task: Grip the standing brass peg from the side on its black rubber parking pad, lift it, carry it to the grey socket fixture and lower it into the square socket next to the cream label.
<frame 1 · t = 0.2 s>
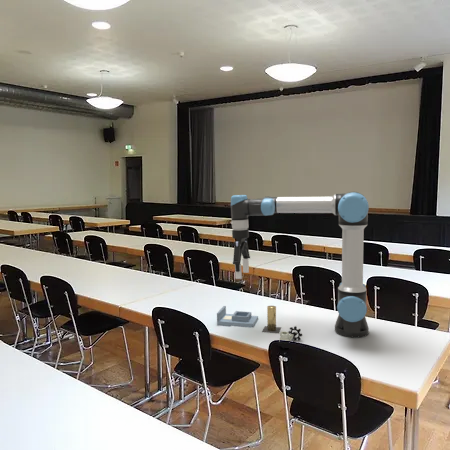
hand: (242, 275, 198), 27 cm above the table, tool pointing down, fingers open, 13 cm apart
parking pad: (271, 330, 203), on the table
brass peg: (271, 329, 203), resting on parking pad
valve: (289, 345, 186), on the table
grey socket fixture: (237, 322, 215), on the table
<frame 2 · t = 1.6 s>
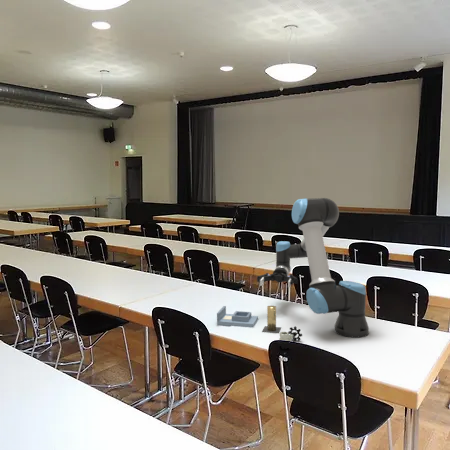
hand: (274, 283, 210), 20 cm above the table, tool horizontal, fingers open, 13 cm apart
nothing on the table moved.
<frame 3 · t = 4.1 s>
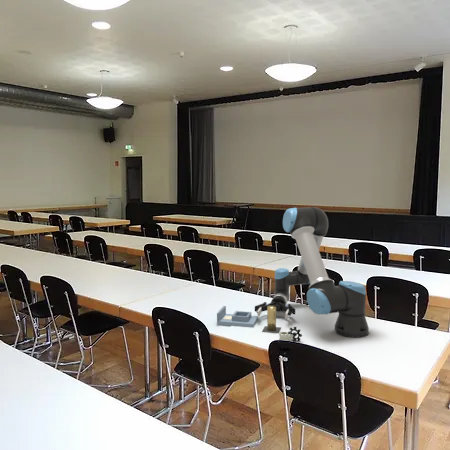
hand: (272, 315, 207), 6 cm above the table, tool horizontal, fingers open, 13 cm apart
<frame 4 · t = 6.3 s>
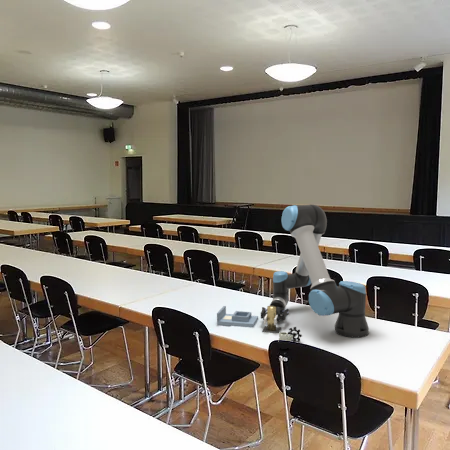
hand: (269, 321, 197), 6 cm above the table, tool horizontal, fingers closed on brass peg, 4 cm apart
brass peg: (271, 329, 203), resting on parking pad, touching gripper
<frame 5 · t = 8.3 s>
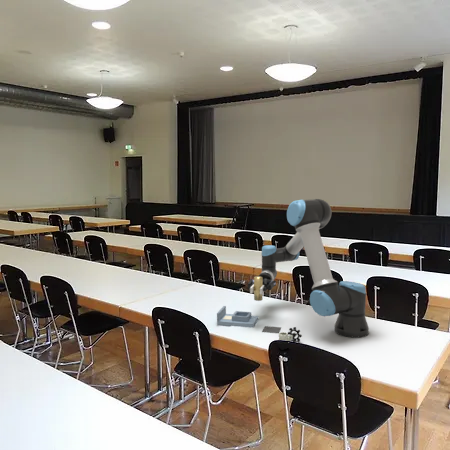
hand: (255, 291, 202), 19 cm above the table, tool horizontal, fingers closed on brass peg, 4 cm apart
brass peg: (258, 299, 208), point 13 cm above the table, touching gripper
when the fingers open (10 cm above the table, at t = 10.6 s): brass peg drops 2 cm, resting on grey socket fixture.
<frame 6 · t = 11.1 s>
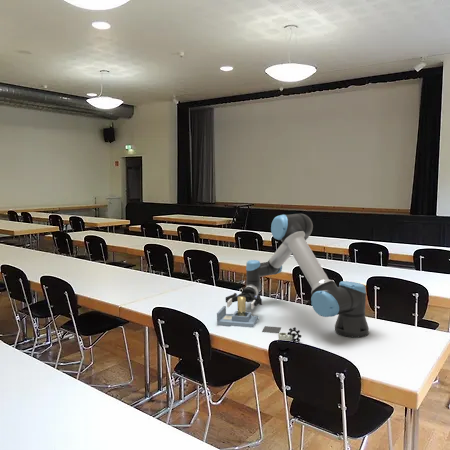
hand: (239, 305, 209), 10 cm above the table, tool horizontal, fingers open, 11 cm apart
brass peg: (241, 318, 214), point 2 cm above the table, touching grey socket fixture
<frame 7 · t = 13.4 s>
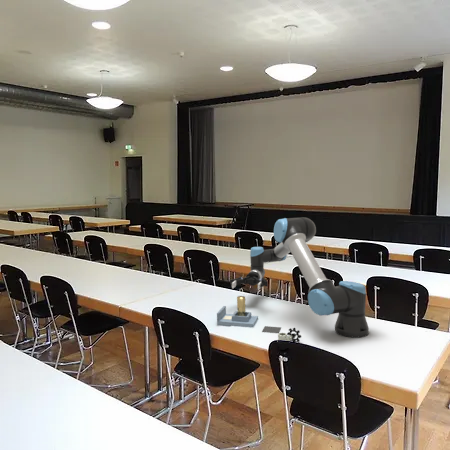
hand: (245, 286, 222), 16 cm above the table, tool horizontal, fingers open, 13 cm apart
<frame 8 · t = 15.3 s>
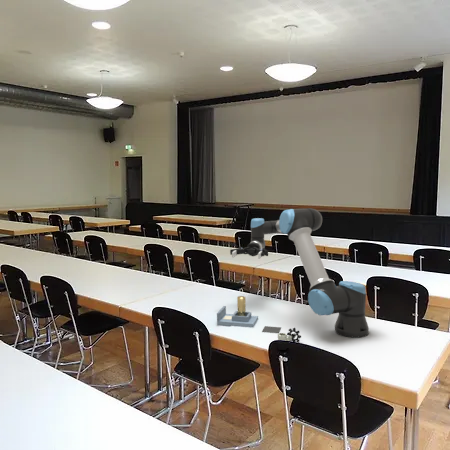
hand: (245, 255, 220), 32 cm above the table, tool horizontal, fingers open, 13 cm apart
at the end: brass peg 0.1 cm from the target spot on the grey socket fixture, point 2.0 cm above the grey socket fixture's base; brass peg tilted 0°; the gripper is holding nothing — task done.
